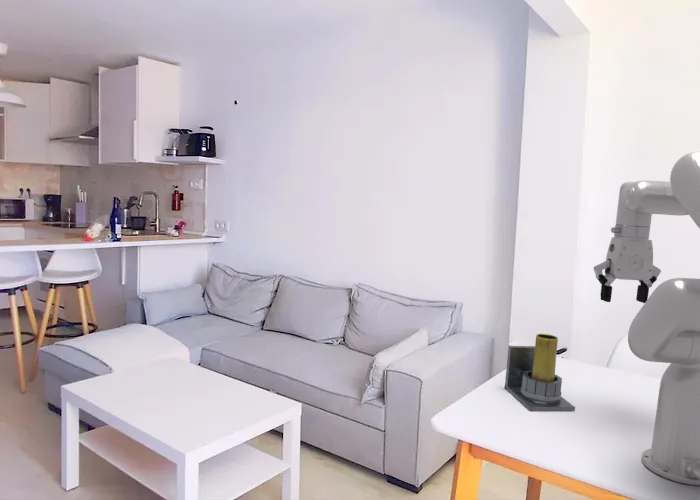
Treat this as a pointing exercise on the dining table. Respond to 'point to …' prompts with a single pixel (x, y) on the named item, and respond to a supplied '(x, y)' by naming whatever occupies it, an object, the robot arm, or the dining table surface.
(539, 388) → the cup bracket
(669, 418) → the robot arm
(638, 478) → the dining table surface
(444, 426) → the dining table surface
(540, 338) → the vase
